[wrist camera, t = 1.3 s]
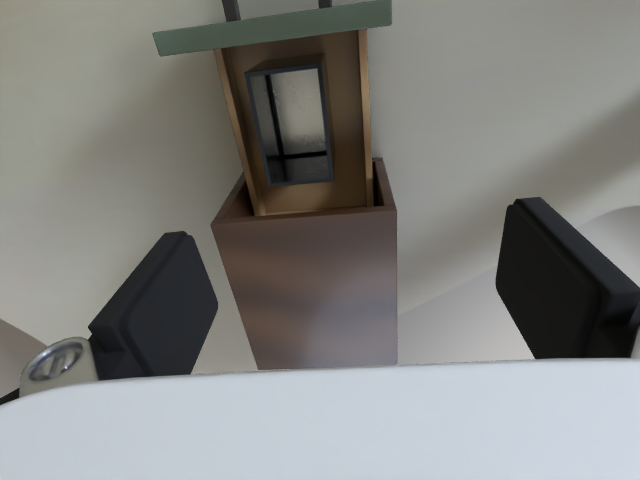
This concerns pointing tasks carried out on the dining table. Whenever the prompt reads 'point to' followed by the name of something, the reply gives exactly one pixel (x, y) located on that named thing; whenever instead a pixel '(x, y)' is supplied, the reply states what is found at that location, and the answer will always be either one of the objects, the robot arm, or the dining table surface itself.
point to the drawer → (344, 86)
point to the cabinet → (314, 280)
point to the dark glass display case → (293, 119)
